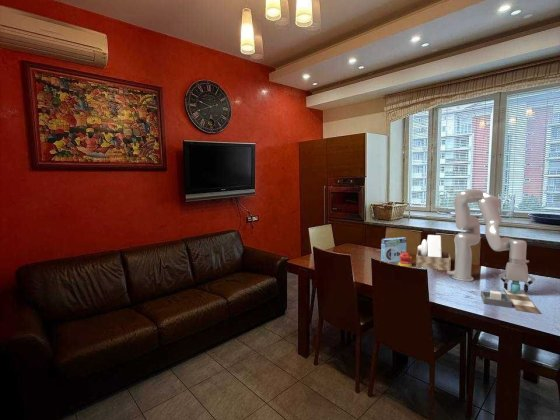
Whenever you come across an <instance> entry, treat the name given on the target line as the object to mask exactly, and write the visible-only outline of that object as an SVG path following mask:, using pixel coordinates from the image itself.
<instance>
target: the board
mask: <svg viewBox="0 0 560 420" xmlns="http://www.w3.org/2000/svg"><path fill="white" fill-rule="evenodd" d="M503 292H504V294H507V295H508V297H509V299H510V300H511V302H512V305H513V307H514V309H515V310H516V311H518V312H525V313H531V314H539V315H542V312H541V311H540V309H538V307H537V306H536V305H535V304H534V302H533V301H532V300H531V299H530V297H529V296H528V295H527V293H526V292H525V291H520V294H514V293H511V289H507V290H506V289H503Z"/></svg>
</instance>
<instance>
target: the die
mask: <svg viewBox="0 0 560 420" xmlns="http://www.w3.org/2000/svg"><path fill="white" fill-rule="evenodd" d="M489 292H490V299H496V300H501V294H502V293H501V291H497V290H489Z"/></svg>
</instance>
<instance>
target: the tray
mask: <svg viewBox="0 0 560 420" xmlns="http://www.w3.org/2000/svg"><path fill="white" fill-rule="evenodd" d="M480 298H481V301H482V302H483V304H484V305H489V306H497V307H498V306H499V307H503V308H509V309H510V308H511V309H512V305H513V304H512V302H511V300H510V299H509V297H508V295H507V294H506V293H501V300H496V299H490V291H483V290H481V291H480Z"/></svg>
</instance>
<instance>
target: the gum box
mask: <svg viewBox="0 0 560 420" xmlns="http://www.w3.org/2000/svg"><path fill="white" fill-rule="evenodd" d="M380 243H381V244H380V245H381V246H380V248H381V249H380V250H381V251H380V262H381V261H384V262H388V263H393V264H397V265H398V263H399V261H400V260H401V259H400V254H401V253H404V252H406V253H407V237H405V236H399V237H389V238H381V241H380Z"/></svg>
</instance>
